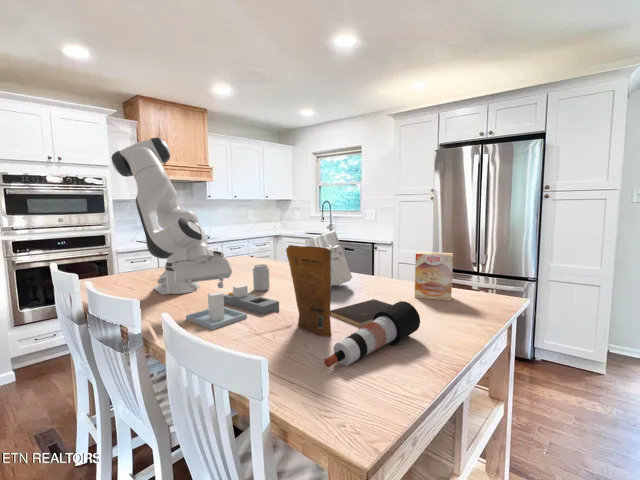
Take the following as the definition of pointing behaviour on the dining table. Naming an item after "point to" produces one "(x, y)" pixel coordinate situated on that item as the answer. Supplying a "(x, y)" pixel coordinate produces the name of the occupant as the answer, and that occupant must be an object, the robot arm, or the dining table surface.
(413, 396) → the dining table surface
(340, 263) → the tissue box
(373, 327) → the cable
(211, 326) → the tray
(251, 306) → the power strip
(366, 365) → the dining table surface
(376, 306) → the hardcover book
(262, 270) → the can
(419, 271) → the coffeecake box
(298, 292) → the pancake mix bag
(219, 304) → the grey rectangular block
